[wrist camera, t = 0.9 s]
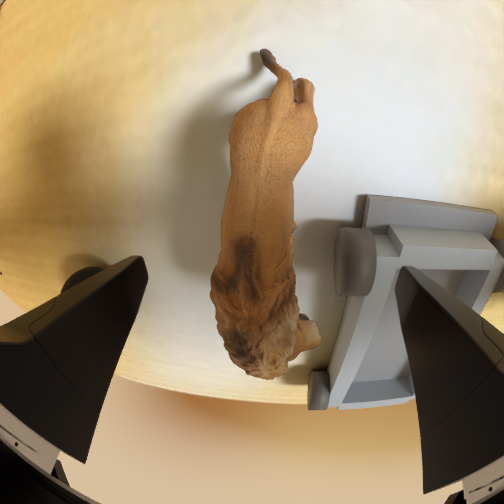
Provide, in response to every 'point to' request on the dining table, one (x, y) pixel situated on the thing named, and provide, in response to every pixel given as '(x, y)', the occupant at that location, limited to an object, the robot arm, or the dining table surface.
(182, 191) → the dining table surface
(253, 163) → the lion figurine
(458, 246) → the chassis
